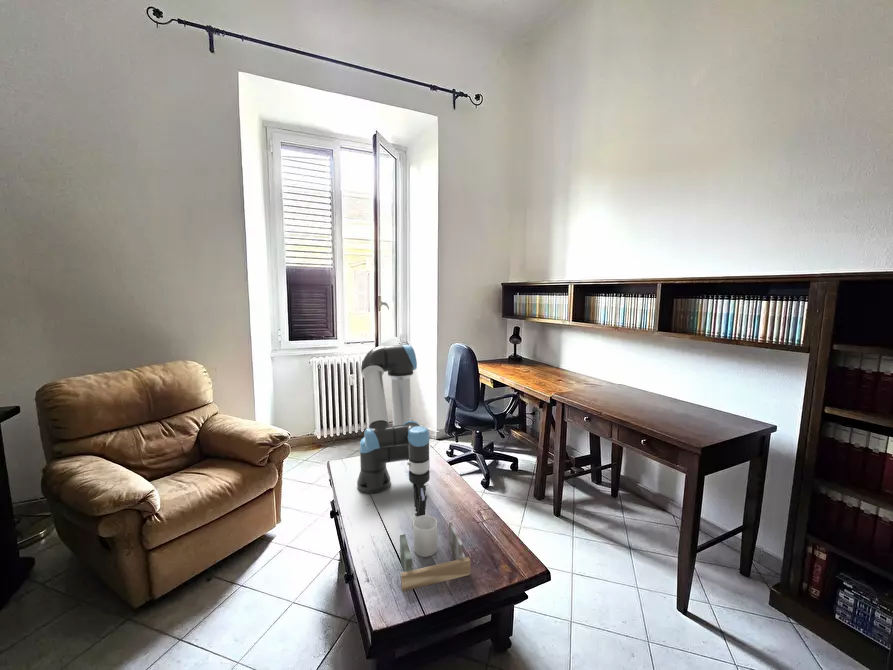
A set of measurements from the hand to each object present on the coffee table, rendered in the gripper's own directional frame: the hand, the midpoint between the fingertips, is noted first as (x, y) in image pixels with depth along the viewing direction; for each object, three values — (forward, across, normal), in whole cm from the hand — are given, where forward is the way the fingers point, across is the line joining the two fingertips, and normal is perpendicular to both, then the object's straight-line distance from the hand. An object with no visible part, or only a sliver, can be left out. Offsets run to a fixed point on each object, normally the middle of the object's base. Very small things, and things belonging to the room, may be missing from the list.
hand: (420, 529), depth 135 cm
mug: (+2, +7, -1) cm, 7 cm away
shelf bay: (+2, +17, 0) cm, 17 cm away
